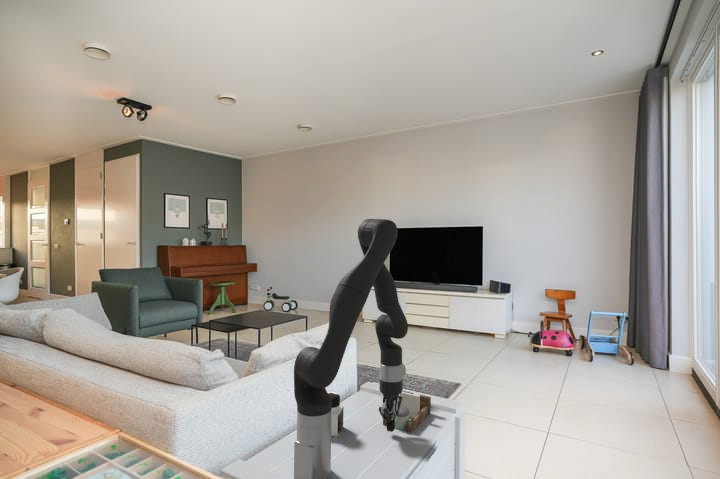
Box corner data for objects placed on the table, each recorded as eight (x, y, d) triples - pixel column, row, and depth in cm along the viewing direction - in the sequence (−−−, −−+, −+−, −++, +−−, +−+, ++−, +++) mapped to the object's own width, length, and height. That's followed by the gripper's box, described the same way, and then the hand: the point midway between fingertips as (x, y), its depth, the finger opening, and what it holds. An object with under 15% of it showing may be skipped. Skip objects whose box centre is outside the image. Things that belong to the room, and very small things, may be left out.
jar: (404, 431, 129) (405, 416, 129) (388, 426, 132) (388, 412, 132) (412, 424, 134) (412, 409, 134) (396, 419, 137) (396, 405, 138)
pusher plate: (418, 419, 137) (418, 396, 138) (399, 414, 141) (399, 392, 141) (425, 412, 143) (426, 390, 144) (407, 407, 147) (407, 386, 147)
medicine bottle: (338, 437, 125) (338, 399, 125) (316, 434, 126) (317, 397, 126) (343, 426, 132) (343, 391, 132) (323, 424, 133) (323, 389, 133)
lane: (411, 432, 128) (411, 414, 128) (382, 424, 134) (382, 407, 134) (430, 413, 143) (430, 396, 143) (403, 406, 149) (403, 390, 149)
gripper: (392, 385, 119) (391, 442, 119) (410, 373, 130) (409, 425, 130) (371, 380, 123) (370, 436, 123) (389, 369, 134) (389, 419, 134)
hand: (390, 430), depth 127 cm, fingers closed
